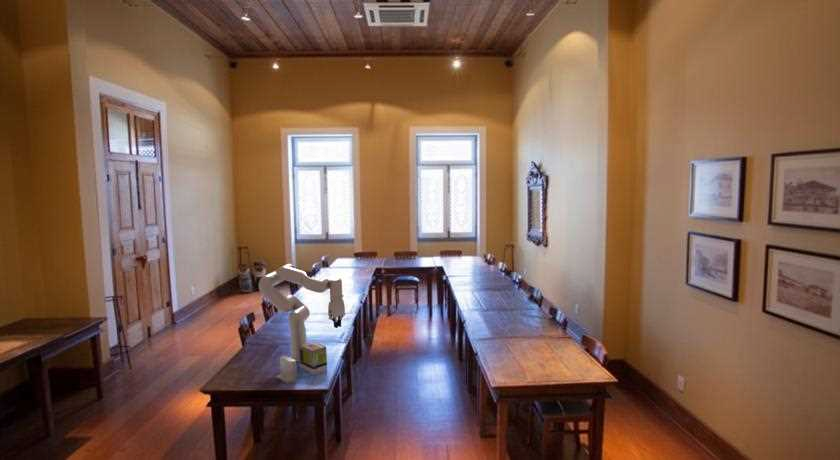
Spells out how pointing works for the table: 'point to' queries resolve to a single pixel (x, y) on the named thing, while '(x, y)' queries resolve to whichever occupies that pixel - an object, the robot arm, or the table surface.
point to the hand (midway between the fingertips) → (337, 326)
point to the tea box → (313, 357)
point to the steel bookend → (287, 370)
